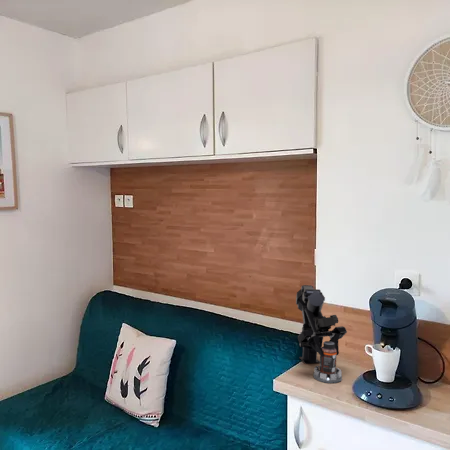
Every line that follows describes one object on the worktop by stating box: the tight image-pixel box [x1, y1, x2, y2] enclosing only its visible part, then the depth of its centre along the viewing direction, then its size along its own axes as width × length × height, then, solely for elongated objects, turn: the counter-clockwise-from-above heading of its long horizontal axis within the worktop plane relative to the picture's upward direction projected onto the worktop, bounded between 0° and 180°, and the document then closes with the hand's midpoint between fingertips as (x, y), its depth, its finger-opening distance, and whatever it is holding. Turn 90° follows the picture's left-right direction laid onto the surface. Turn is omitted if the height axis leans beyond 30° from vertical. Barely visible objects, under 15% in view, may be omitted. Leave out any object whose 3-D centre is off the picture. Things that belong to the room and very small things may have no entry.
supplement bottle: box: [319, 340, 338, 375], centre depth 168 cm, size 6×6×11 cm
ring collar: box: [313, 365, 343, 384], centre depth 169 cm, size 10×10×3 cm
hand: (330, 355), depth 167 cm, fingers closed on supplement bottle, 6 cm apart
